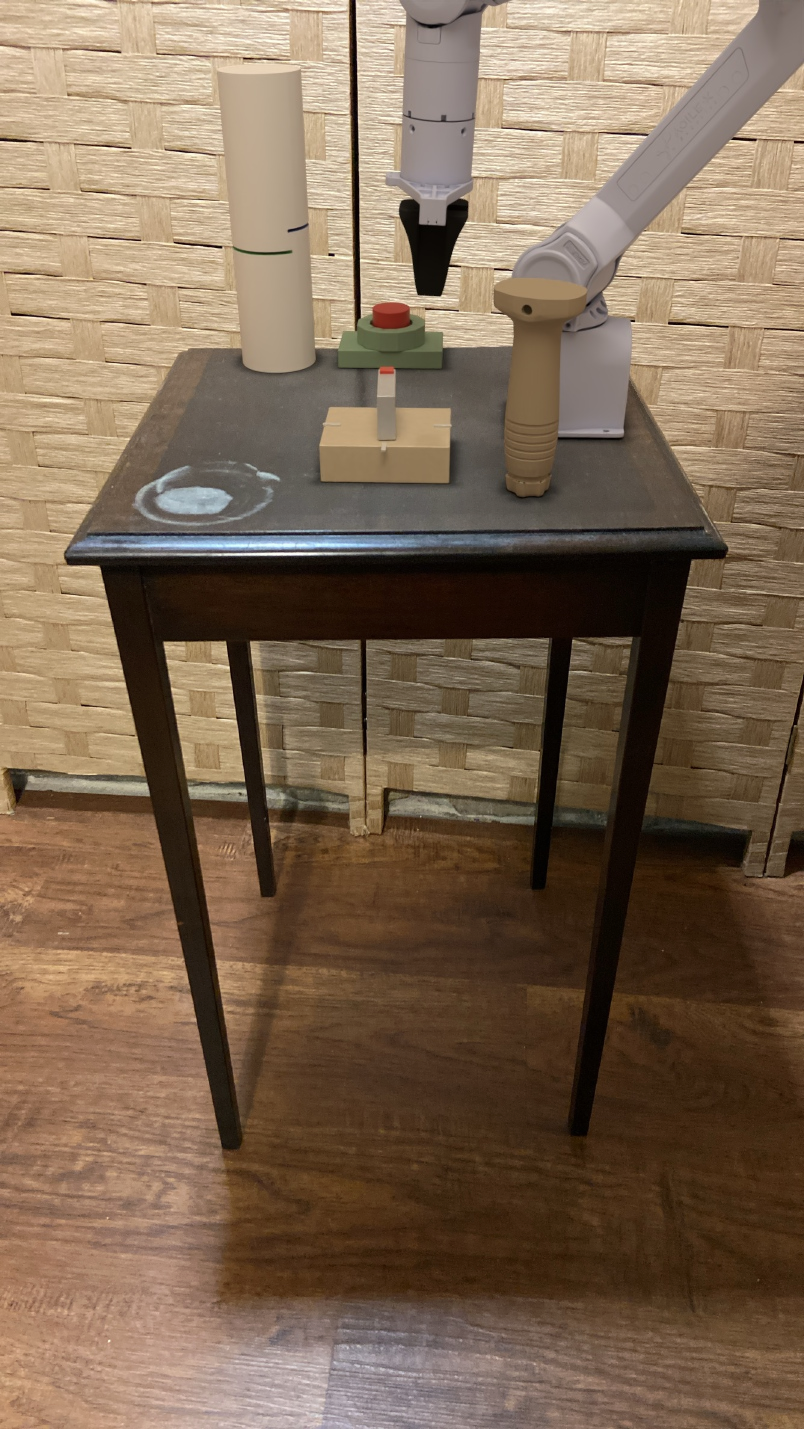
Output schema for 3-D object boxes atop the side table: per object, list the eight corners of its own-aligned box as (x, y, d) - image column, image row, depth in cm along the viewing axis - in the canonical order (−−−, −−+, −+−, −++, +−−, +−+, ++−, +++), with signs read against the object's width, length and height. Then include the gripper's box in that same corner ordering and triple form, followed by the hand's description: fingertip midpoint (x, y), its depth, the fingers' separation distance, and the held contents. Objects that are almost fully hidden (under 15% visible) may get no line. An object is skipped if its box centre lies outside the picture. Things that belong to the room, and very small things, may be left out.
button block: (442, 347, 113) (443, 312, 111) (441, 369, 108) (442, 332, 106) (343, 346, 114) (342, 311, 112) (338, 368, 108) (336, 332, 106)
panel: (451, 437, 95) (452, 401, 93) (450, 489, 86) (451, 450, 85) (330, 436, 95) (329, 399, 93) (318, 487, 87) (315, 449, 85)
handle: (556, 510, 83) (573, 303, 74) (476, 494, 86) (483, 291, 77) (577, 485, 87) (596, 284, 78) (500, 470, 89) (509, 274, 80)
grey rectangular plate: (395, 440, 86) (395, 392, 84) (377, 440, 86) (376, 392, 84) (396, 411, 91) (395, 365, 89) (378, 411, 91) (378, 365, 89)
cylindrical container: (330, 359, 111) (318, 67, 96) (275, 378, 106) (254, 76, 92) (282, 343, 115) (263, 61, 100) (227, 360, 110) (199, 68, 96)
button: (410, 320, 110) (410, 302, 109) (409, 331, 108) (409, 313, 106) (373, 320, 111) (373, 301, 110) (371, 331, 108) (371, 313, 107)
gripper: (392, 97, 93) (387, 266, 102) (382, 130, 82) (377, 318, 90) (477, 101, 93) (465, 270, 102) (479, 135, 82) (465, 323, 90)
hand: (429, 293), depth 96 cm, fingers closed
